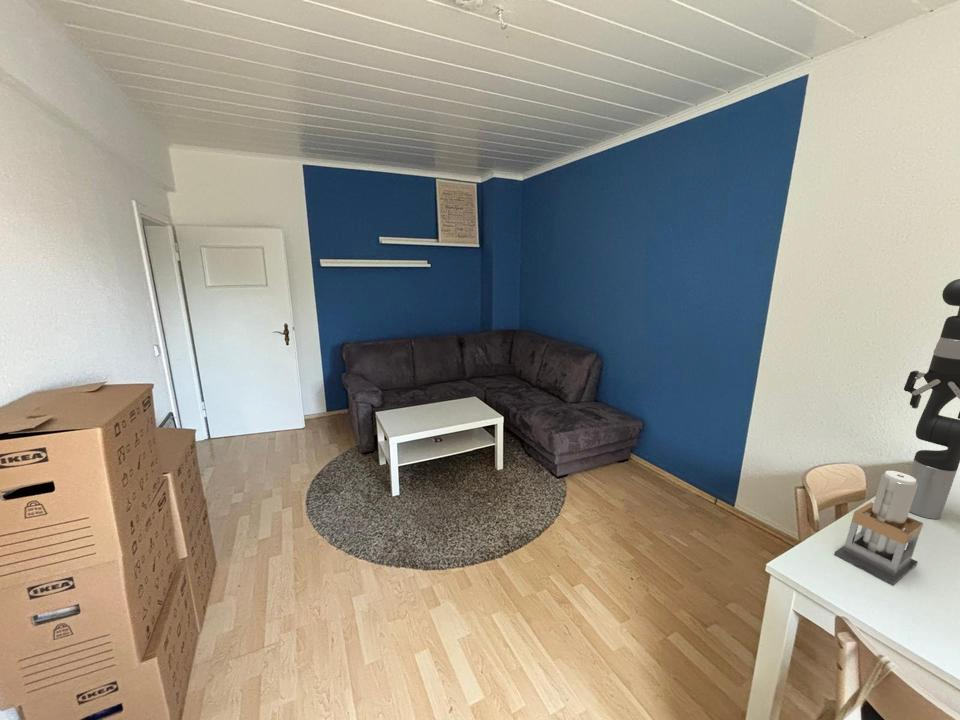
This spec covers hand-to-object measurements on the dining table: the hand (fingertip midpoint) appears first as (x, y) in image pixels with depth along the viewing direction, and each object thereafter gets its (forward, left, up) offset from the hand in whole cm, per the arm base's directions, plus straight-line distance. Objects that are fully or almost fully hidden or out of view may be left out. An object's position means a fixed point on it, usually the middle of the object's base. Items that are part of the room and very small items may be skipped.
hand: (936, 412), depth 106 cm
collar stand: (+18, +1, -40) cm, 44 cm away
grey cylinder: (+18, +1, -39) cm, 43 cm away
